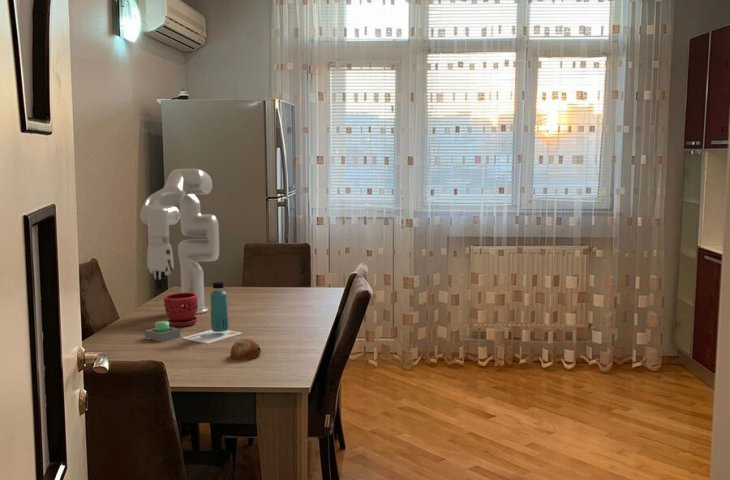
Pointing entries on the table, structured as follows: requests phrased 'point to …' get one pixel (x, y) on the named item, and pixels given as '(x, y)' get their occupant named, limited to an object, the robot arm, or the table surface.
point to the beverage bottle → (219, 308)
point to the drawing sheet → (211, 336)
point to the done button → (162, 326)
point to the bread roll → (245, 350)
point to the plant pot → (181, 308)
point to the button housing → (162, 334)
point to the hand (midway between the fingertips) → (160, 289)
